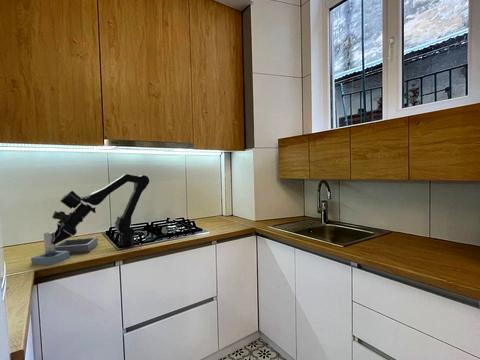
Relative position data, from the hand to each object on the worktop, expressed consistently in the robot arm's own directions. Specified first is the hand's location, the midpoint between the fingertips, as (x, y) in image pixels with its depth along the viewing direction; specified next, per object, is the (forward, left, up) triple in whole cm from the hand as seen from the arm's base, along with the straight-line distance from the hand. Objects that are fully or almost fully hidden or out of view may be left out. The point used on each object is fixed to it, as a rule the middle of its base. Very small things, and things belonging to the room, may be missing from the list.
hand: (52, 241), depth 121 cm
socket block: (+1, +1, -9) cm, 9 cm away
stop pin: (+1, +1, -9) cm, 9 cm away
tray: (+2, -15, -9) cm, 18 cm away
